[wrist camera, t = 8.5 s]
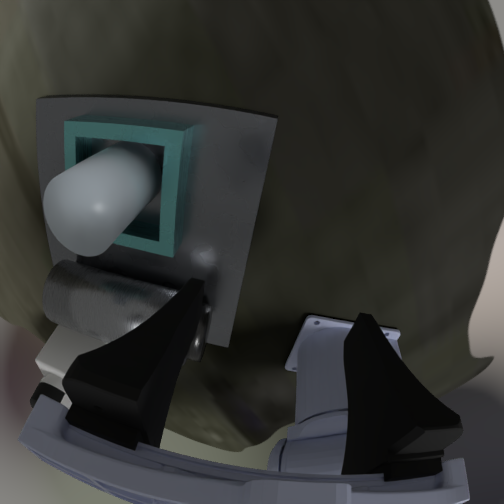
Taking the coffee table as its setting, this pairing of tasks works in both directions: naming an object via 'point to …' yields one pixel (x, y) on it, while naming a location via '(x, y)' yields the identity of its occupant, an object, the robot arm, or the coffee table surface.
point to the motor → (158, 211)
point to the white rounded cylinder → (101, 196)
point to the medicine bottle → (60, 362)
